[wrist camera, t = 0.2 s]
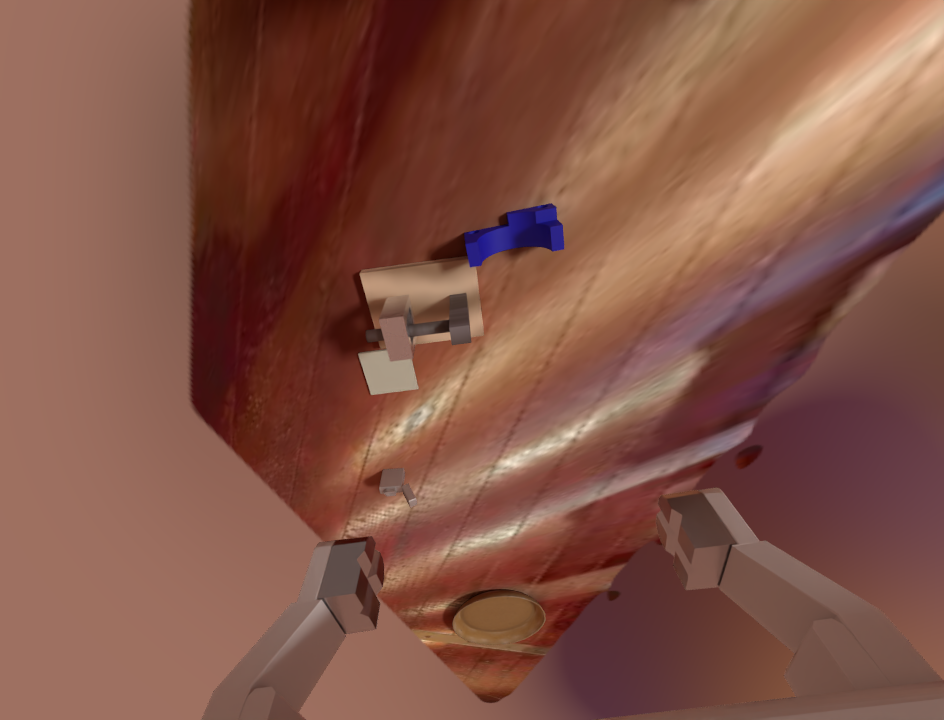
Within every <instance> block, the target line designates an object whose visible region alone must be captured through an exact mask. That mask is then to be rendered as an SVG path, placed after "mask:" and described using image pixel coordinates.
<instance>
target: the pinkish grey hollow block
mask: <svg viewBox="0 0 944 720" xmlns="http://www.w3.org/2000/svg"><path fill="white" fill-rule="evenodd" d="M379 323H380V326H381V330H382V334H383V337H384V341H385V345H386V349H387V352H388V356H389V360H390V362H391V361H399V360H407V359H413V357H414V351H415V345H416V339H417V336H415V337H410V335H409V330H408V326H407V325H411V324H415V321H414V316H413V311H412V307H411V302H410V298H409V295H402V296H394V297H387V299H386V301H385V304H384V307H383V309H382V312H381V315H380V317H379Z"/></svg>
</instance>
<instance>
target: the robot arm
mask: <svg viewBox="0 0 944 720" xmlns="http://www.w3.org/2000/svg"><path fill="white" fill-rule="evenodd" d="M658 505H659V507H660V509H661V511H660V512H659V513H658V514H657V517H656V525H657V531H658V534H659V537H660V540H661V542H662V544H663V546H664V548H665V550H666V551H668V552H669V553H670V554H672V555H673V556H675V557H674V563H673V566H674V568H675V570H676V572H677V574H678V576H679V578H680V580H681V582H682V584H683V586H684V588H685V590H693V589H703V588H713V587H719V589H720V590H721V591H722V592H723V593H725V594H726V595H727V596H728V597H729V598H730V599H731V600H733V601H734V602H735V603H736V604H737V605H739V606H740V607H741V608H742V609H743V610H744V611H746V612H747V613H748V614H749V615H750V616H751V617H753V618H754V619H755V620H756V621H757V622H758V623H760V624H761V625H762V626H763V627H764V628H765V629H767V630H768V631H769V632H770V633H771V634H772V635H774V636H775V637H776V638H777V639H778V640H779V641H781V642H782V643H783V644H784V645H785V646H786V647H788V648H789V649H790V650H791V651H792V652H793V653H795V654H794V656H793V658H792V660H791V661H790V663H789V665H788V667H787V668H786V671H785V674H784V677H785V679H786V680H787V682H788V684H789V685H790V687H791V689H792V690H793V692H794V694H795V696H796V697H791V698H782V699H773V700H765V701H755V702H747V703H738V704H729V705H720V706H711V707H702V708H694V709H684V710H676V711H667V712H658V713H649V714H641V715H632V716H622V717H613V718H605V719H596V720H944V680H942V678H941V677H940V676H939V675H938V674H937V673H936V672H935V671H934V670H933V668H932V667H931V666H930V665H929V664H928V663H927V662H926V661H925V659H924V658H923V657H922V656H921V655H920V654H919V652H918V651H917V650H916V649H915V648H914V647H913V646H912V644H911V643H910V642H909V641H908V640H907V639H906V638H905V637H904V635H903V634H902V633H901V632H900V631H899V630H898V629H897V627H896V626H895V625H894V624H893V623H892V622H891V621H890V620H889V618H888V617H887V616H886V615H885V614H884V613H883V612H882V611H881V610H880V609H878V608H876V607H875V606H873V605H871V604H869V603H868V602H866V601H865V600H863V599H861V598H860V597H858V596H856V595H854V594H853V593H851V592H850V591H848V590H846V589H845V588H843V587H841V586H840V585H838V584H836V583H835V582H833V581H831V580H830V579H828V578H826V577H825V576H823V575H821V574H820V573H818V572H817V571H815V570H813V569H811V568H810V567H808V566H807V565H805V564H803V563H802V562H800V561H798V560H796V559H795V558H793V557H792V556H790V555H788V554H787V553H785V552H783V551H782V550H780V549H778V548H777V547H775V546H773V545H772V544H770V543H768V542H767V541H759V540H758V538H757V537H756V536H755V534H754V533H753V532H752V531H751V529H750V528H749V526H748V525H747V524H746V522H745V521H744V520H743V518H742V517H741V516H740V514H739V513H738V512H737V510H736V509H735V508H734V506H733V505H732V504H731V502H730V501H729V500H728V498H727V497H726V496H725V494H724V493H723V492H722V491H721V490H720V489H719V488H710V489H704V490H693V491H686V492H680V493H673V494H667V495H661V496H660V497H659V501H658ZM375 544H376V543H375V541H374V539H373V537H372V536H369V537H360V538H352V539H344V540H334V541H327V542H320V543H318V544H317V546H316V547H315V549H314V552H313V555H312V558H311V561H310V564H309V567H308V570H307V573H306V576H305V579H304V582H303V585H302V588H301V591H300V594H299V597H298V600H297V602H295V603H291V604H290V605H289V607H288V608H287V609H286V610H285V611H284V612H283V613H282V614H281V616H280V617H279V618H278V619H277V620H276V621H275V622H274V624H273V625H272V626H271V627H270V628H269V629H268V630H267V632H266V633H265V634H264V635H263V636H262V637H261V638H260V639H259V640H258V642H257V643H256V644H255V645H254V646H253V647H252V648H251V650H250V651H249V652H248V653H247V654H246V655H245V656H244V657H243V659H242V660H241V661H240V662H239V663H238V664H237V665H236V667H235V668H234V669H233V670H232V671H231V672H230V673H229V675H228V676H227V677H226V678H225V679H224V680H223V681H222V682H221V683H220V685H219V686H218V687H217V688H216V689H215V690H214V691H213V694H212V696H211V698H210V701H209V703H208V705H207V708H206V710H205V712H204V715H203V717H202V720H306V719H305V718H304V717H302V715H301V714H300V713H298V712H299V711H300V709H301V707H302V706H303V704H304V702H305V701H306V699H307V698H308V696H309V694H310V693H311V691H312V690H313V688H314V687H315V685H316V683H317V682H318V680H319V679H320V677H321V675H322V674H323V672H324V670H325V669H326V667H327V666H328V664H329V663H330V661H331V660H332V658H333V656H334V655H335V653H336V651H337V650H338V648H339V647H340V645H341V644H342V642H343V640H344V639H345V637H346V635H345V634H350V633H357V632H363V631H370V630H375V629H376V626H377V620H378V613H379V607H380V602H379V600H378V598H377V597H376V595H377V594H378V593H379V591H380V590H381V589H382V587H383V581H384V563H383V558H382V556H381V553H380V552H378V551H377V550H375Z"/></svg>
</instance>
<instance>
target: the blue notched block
mask: <svg viewBox="0 0 944 720" xmlns="http://www.w3.org/2000/svg"><path fill="white" fill-rule="evenodd" d="M507 221H508V224H506V225H501V226H496V227H491V228H486V229H481V230H476V231H471V232H466V233H464V235H465V245H466V250H467V255H468V260H469V265H470V268H471V267H476V266H481V265H482V262H483V261H484V260H485V259H486V258H487V257H489V256H491V255H493V254H495V253H498V252H501V251H504V250H508V249H513V248H519V247H544V248H547V249H550V250H551V251H557V250H562V249H564V238H563V225H562V224H561V223H560V222H559V221H558V220H557V212H556V207H555V206H554V205H553V204H552V203H551V204H546V205H541V206H536V207H531V208H526V209H521V210H516V211H511V212H507Z"/></svg>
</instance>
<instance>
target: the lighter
mask: <svg viewBox="0 0 944 720" xmlns="http://www.w3.org/2000/svg"><path fill="white" fill-rule="evenodd" d="M404 478H405V471H404V468H399V469H384V470H383V471H382V476H381V481H380V486H379V490H380V493H381V494H385V495H386V496H396V493H397V492H403V494H404V496H405V498H406V500H407V502H408V504H409V506H410V508H411V507H413V506H415V505H417V500H416V497H415V495H414V493H413V491H412V489H411V488H410V486H409V484H406V485H404Z"/></svg>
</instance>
